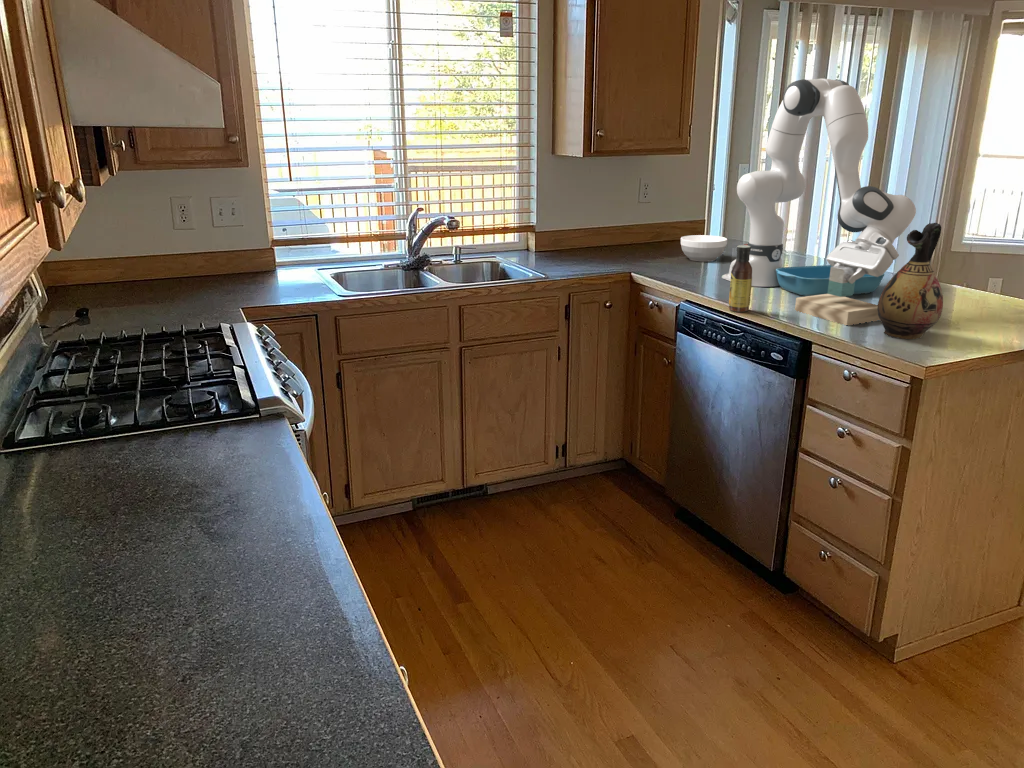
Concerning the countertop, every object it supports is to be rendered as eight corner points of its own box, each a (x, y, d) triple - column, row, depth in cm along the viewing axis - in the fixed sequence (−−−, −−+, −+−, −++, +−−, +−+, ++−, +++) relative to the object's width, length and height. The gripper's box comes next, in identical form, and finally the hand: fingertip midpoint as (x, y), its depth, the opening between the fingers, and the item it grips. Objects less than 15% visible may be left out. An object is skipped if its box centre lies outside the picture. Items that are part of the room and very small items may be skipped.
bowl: (671, 257, 322) (672, 236, 319) (709, 254, 328) (711, 234, 325) (694, 264, 305) (695, 242, 302) (734, 261, 311) (736, 240, 308)
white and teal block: (827, 293, 224) (830, 266, 222) (839, 291, 226) (843, 265, 224) (840, 296, 220) (844, 269, 217) (853, 295, 222) (857, 268, 219)
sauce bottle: (733, 306, 237) (738, 243, 230) (752, 309, 233) (758, 245, 226) (724, 310, 232) (729, 246, 225) (743, 313, 228) (749, 248, 221)
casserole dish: (851, 281, 272) (854, 261, 270) (895, 294, 252) (899, 273, 250) (760, 287, 264) (762, 267, 262) (798, 301, 244) (801, 279, 241)
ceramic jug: (918, 346, 194) (939, 229, 184) (862, 333, 206) (879, 222, 196) (951, 335, 203) (972, 223, 194) (895, 324, 215) (912, 217, 205)
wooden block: (794, 310, 231) (796, 297, 230) (828, 305, 237) (830, 293, 235) (846, 325, 214) (848, 312, 213) (882, 320, 219) (884, 306, 218)
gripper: (841, 232, 229) (810, 266, 229) (893, 242, 211) (860, 279, 211) (850, 246, 232) (821, 280, 232) (903, 256, 214) (871, 293, 214)
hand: (840, 279), depth 222 cm, fingers closed on white and teal block, 5 cm apart
